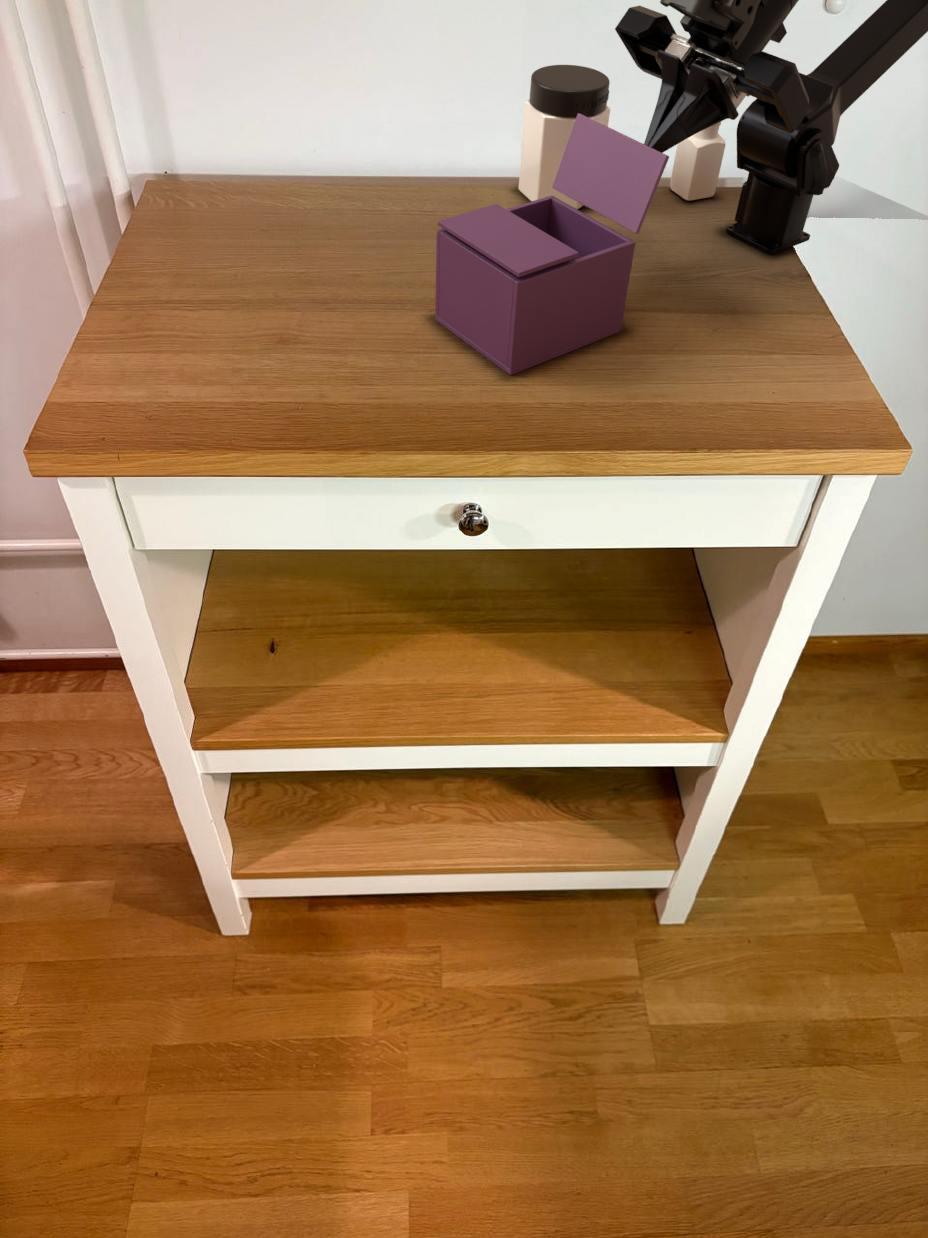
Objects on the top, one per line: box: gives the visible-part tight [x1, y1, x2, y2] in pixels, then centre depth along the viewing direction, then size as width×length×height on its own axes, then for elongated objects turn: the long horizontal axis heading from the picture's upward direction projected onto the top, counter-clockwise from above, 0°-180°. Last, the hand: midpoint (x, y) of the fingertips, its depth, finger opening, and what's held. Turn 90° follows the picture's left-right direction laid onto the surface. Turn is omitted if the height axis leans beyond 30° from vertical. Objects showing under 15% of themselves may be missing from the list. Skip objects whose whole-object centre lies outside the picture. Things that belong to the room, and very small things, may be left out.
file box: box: [434, 195, 636, 376], centre depth 87 cm, size 13×11×9 cm
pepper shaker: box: [669, 121, 727, 201], centre depth 108 cm, size 4×4×10 cm
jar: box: [518, 64, 611, 210], centre depth 105 cm, size 9×8×12 cm
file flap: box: [552, 113, 670, 235], centre depth 85 cm, size 6×11×1 cm
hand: (647, 153), depth 86 cm, fingers closed
